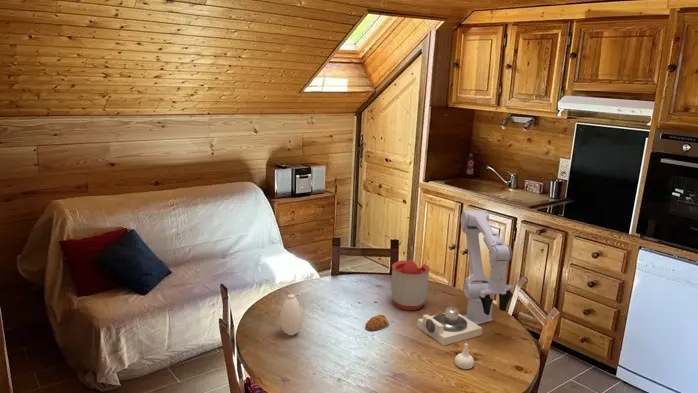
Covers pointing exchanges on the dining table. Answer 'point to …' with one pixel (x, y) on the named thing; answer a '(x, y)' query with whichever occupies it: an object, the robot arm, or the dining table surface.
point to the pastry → (377, 323)
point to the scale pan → (459, 327)
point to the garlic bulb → (464, 359)
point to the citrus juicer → (409, 284)
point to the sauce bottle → (291, 315)
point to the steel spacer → (451, 316)
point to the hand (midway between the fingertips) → (494, 312)
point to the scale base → (448, 337)
